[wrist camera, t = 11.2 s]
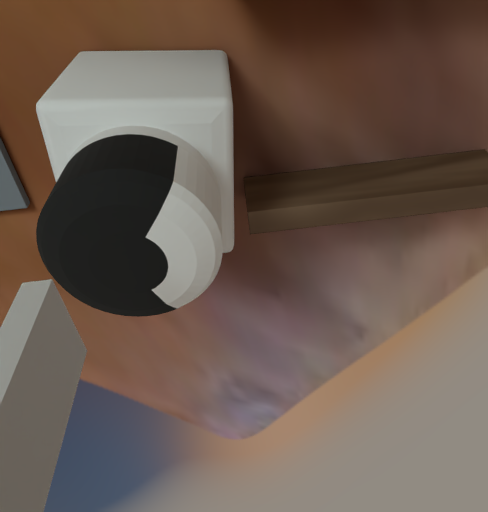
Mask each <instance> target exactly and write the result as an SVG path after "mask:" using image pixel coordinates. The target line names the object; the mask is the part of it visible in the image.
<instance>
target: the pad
mask: <svg viewBox="0 0 488 512" xmlns="http://www.w3.org/2000/svg"><path fill="white" fill-rule="evenodd" d="M29 204H30V201H29V199H28V197H27V195H26V193H25V190H24V188H23V186H22V184H21V182H20V179H19V177H18V175H17V173H16V171H15V168H14V166H13V164H12V162H11V160H10V157H9V155H8V153H7V151H6V149H5V146H4V144H3V142H2V140H1V138H0V211H4V210H13V209H21V208H27V207H28V205H29Z"/></svg>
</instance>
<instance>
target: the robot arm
mask: <svg viewBox="0 0 488 512" xmlns="http://www.w3.org/2000/svg"><path fill="white" fill-rule="evenodd" d="M86 352H87V349H86V347H85V345H84V343H83V341H82V339H81V337H80V335H79V333H78V331H77V329H76V327H75V325H74V323H73V321H72V319H71V317H70V315H69V313H68V311H67V309H66V307H65V304H64V302H63V300H62V298H61V296H60V294H59V292H58V290H57V288H56V286H55V284H54V282H53V280H52V279H50V280H42V281H34V282H26V283H22V285H21V287H20V289H19V291H18V293H17V295H16V297H15V299H14V301H13V303H12V305H11V307H10V309H9V311H8V313H7V315H6V318H5V320H4V322H3V324H2V326H1V328H0V512H43V511H44V507H45V504H46V500H47V496H48V492H49V489H50V485H51V481H52V478H53V474H54V470H55V467H56V463H57V459H58V456H59V452H60V448H61V445H62V441H63V437H64V433H65V430H66V426H67V422H68V419H69V415H70V411H71V408H72V404H73V400H74V396H75V393H76V389H77V386H78V382H79V378H80V375H81V371H82V367H83V363H84V360H85V356H86Z"/></svg>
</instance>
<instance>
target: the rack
mask: <svg viewBox="0 0 488 512" xmlns="http://www.w3.org/2000/svg"><path fill="white" fill-rule="evenodd" d="M244 186H245V195H246V204H247V212H248V221H249V229H250V234H256V233H265V232H274V231H282V230H291V229H300V228H308V227H317V226H326V225H334V224H343V223H352V222H360V221H369V220H378V219H386V218H395V217H404V216H412V215H421V214H430V213H439V212H447V211H456V210H465V209H473V208H482V207H488V152H487V151H486V150H485V149H484V150H476V151H467V152H458V153H450V154H441V155H433V156H424V157H416V158H407V159H399V160H390V161H382V162H373V163H365V164H356V165H348V166H339V167H331V168H322V169H314V170H305V171H297V172H288V173H280V174H271V175H262V176H254V177H245V178H244Z"/></svg>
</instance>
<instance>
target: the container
mask: <svg viewBox="0 0 488 512" xmlns="http://www.w3.org/2000/svg"><path fill="white" fill-rule="evenodd" d="M36 112H37V115H38V119H39V122H40V126H41V130H42V133H43V137H44V140H45V144H46V148H47V151H48V155H49V158H50V162H51V165H52V169H53V173H54V176H55V180H56V184H55V186H54V188H53V190H52V192H51V194H50V195H49V197H48V199H47V201H46V203H45V205H44V207H43V208H42V211H41V213H40V216H39V219H38V223H37V229H36V235H37V245H38V250H39V253H40V256H41V258H42V261H43V263H44V264H45V266H46V268H47V270H48V271H49V272H50V274H51V275H52V276H53V277H54V279H55V280H56V281H57V282H58V283H59V284H60V285H61V286H62V287H63V288H64V289H65V290H66V291H67V292H69V293H70V294H71V295H72V296H74V297H75V298H77V299H78V300H80V301H82V302H83V303H85V304H87V305H89V306H91V307H93V308H96V309H99V310H102V311H105V312H109V313H112V314H117V315H124V316H151V315H158V314H162V313H166V312H169V311H172V310H175V309H177V308H179V307H181V306H183V305H185V304H187V303H189V302H191V301H192V300H194V299H195V298H197V297H198V296H200V295H201V294H202V293H203V292H204V291H205V290H206V289H207V288H208V287H209V285H210V284H211V283H212V282H213V280H214V278H215V277H216V275H217V273H218V270H219V267H220V265H221V260H222V253H228V252H230V251H232V250H233V247H234V160H233V101H232V92H231V83H230V74H229V65H228V57H227V54H226V53H225V52H224V51H221V50H175V51H83V52H79V53H78V55H77V56H76V57H75V58H74V59H73V61H72V62H71V63H70V64H69V65H68V66H67V68H66V69H65V70H64V71H63V72H62V74H61V75H60V76H59V77H58V78H57V79H56V81H55V82H54V83H53V84H52V85H51V87H50V88H49V89H48V90H47V91H46V92H45V94H44V95H43V96H42V97H41V98H40V100H39V101H38V102H37V104H36Z"/></svg>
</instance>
